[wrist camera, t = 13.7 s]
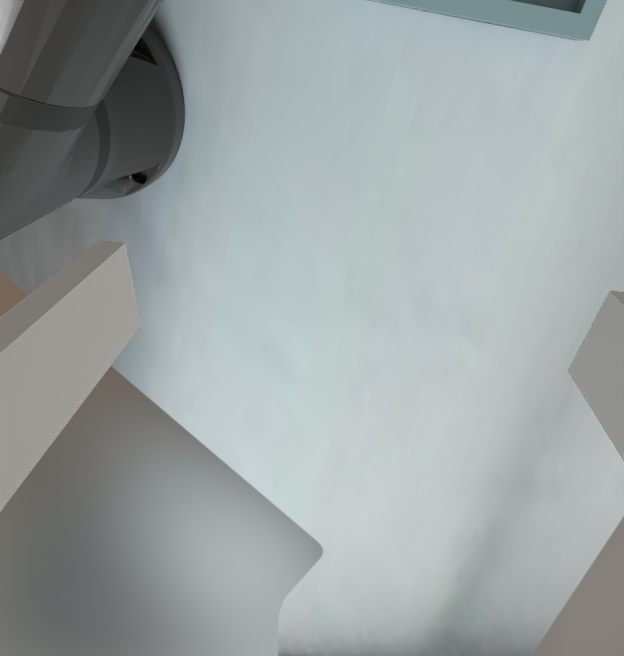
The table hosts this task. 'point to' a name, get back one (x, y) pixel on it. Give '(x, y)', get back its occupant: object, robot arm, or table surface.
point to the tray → (520, 14)
